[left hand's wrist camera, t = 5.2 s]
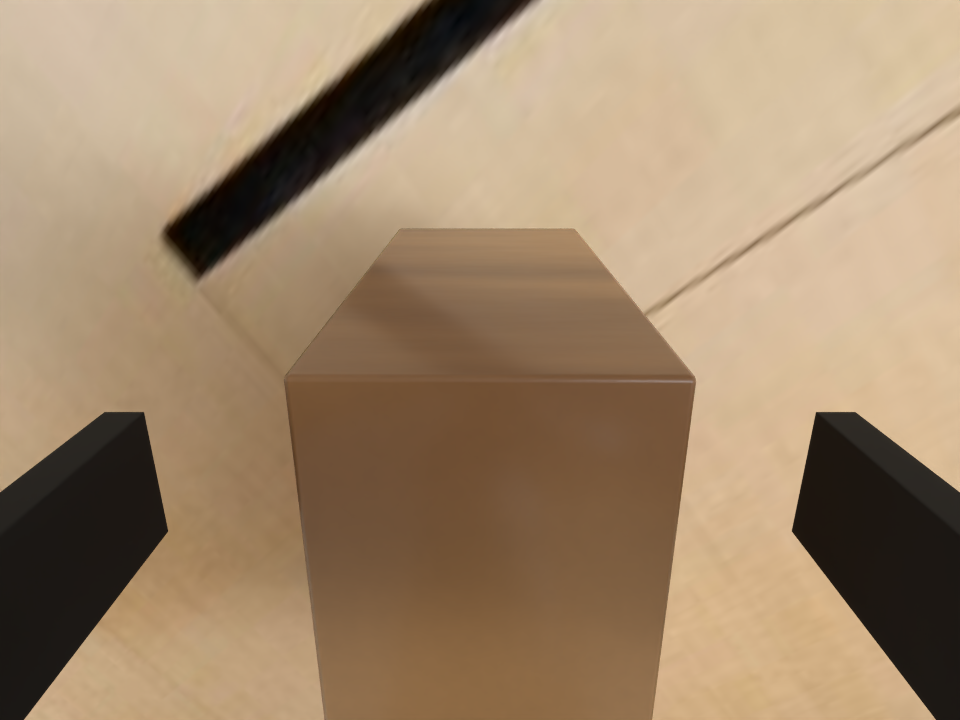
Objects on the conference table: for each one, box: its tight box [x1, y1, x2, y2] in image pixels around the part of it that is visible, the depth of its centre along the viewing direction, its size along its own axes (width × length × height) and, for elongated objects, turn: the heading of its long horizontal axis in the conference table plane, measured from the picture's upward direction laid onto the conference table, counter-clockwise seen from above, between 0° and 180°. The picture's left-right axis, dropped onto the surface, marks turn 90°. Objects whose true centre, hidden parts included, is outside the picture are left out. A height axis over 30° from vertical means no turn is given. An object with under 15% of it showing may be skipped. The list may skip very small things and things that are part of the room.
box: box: [284, 229, 696, 720], centre depth 18 cm, size 20×6×13 cm, turn 0°
